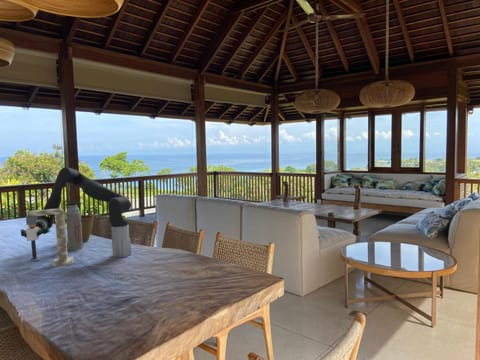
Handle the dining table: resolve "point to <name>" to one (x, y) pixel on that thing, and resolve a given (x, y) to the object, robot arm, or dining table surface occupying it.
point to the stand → (57, 234)
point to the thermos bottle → (74, 227)
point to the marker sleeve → (32, 234)
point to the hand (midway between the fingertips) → (31, 234)
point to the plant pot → (86, 226)
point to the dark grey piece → (32, 222)
